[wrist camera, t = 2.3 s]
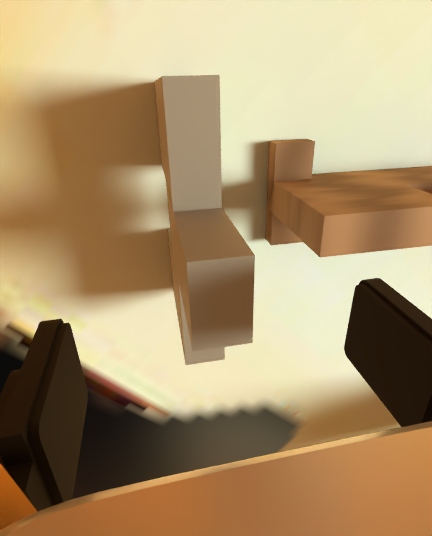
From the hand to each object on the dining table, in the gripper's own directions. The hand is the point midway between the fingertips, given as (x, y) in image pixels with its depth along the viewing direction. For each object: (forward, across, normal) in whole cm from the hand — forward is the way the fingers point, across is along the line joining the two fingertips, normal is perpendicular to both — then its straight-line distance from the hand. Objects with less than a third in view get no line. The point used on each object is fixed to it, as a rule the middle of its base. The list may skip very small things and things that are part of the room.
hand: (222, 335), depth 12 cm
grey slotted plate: (+18, -1, 0) cm, 18 cm away
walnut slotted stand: (+18, -19, +1) cm, 26 cm away
